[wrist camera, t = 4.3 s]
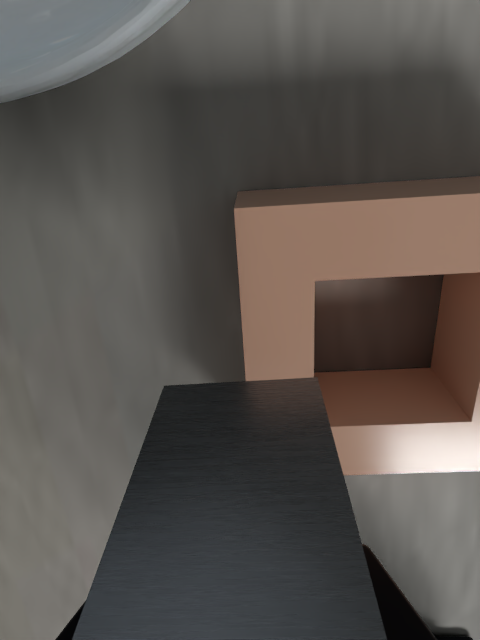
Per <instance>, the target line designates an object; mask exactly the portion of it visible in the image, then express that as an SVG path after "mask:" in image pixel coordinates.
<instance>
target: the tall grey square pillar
mask: <svg viewBox="0 0 480 640" xmlns="http://www.w3.org/2000/svg"><path fill="white" fill-rule="evenodd" d="M72 640H387V637H386V634H385V630H384V626H383V622H382V619H381V615H380V611H379V607H378V603H377V600H376V596H375V592H374V588H373V585H372V581H371V577H370V573H369V570H368V566H367V562H366V558H365V555H364V551H363V547H362V543H361V539H360V536H359V532H358V528H357V524H356V521H355V517H354V513H353V509H352V506H351V502H350V498H349V494H348V490H347V487H346V483H345V479H344V475H343V472H342V468H341V464H340V460H339V457H338V453H337V449H336V445H335V441H334V438H333V434H332V430H331V426H330V423H329V419H328V415H327V411H326V408H325V404H324V400H323V396H322V393H321V389H320V385H319V381H318V377H311V378H294V379H276V380H259V381H241V382H223V383H206V384H188V385H171V386H164V388H163V390H162V393H161V396H160V399H159V401H158V404H157V407H156V410H155V412H154V415H153V418H152V421H151V423H150V426H149V429H148V432H147V434H146V437H145V440H144V443H143V445H142V448H141V451H140V454H139V456H138V459H137V462H136V465H135V467H134V470H133V473H132V476H131V478H130V481H129V484H128V487H127V490H126V492H125V495H124V498H123V501H122V503H121V506H120V509H119V512H118V514H117V517H116V520H115V523H114V525H113V528H112V531H111V534H110V536H109V539H108V542H107V545H106V547H105V550H104V553H103V556H102V558H101V561H100V564H99V567H98V569H97V572H96V575H95V578H94V580H93V583H92V586H91V589H90V591H89V594H88V597H87V600H86V602H85V605H84V608H83V611H82V613H81V616H80V619H79V622H78V624H77V627H76V630H75V633H74V635H73V638H72Z"/></svg>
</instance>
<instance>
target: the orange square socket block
mask: <svg viewBox="0 0 480 640" xmlns="http://www.w3.org/2000/svg"><path fill="white" fill-rule="evenodd" d="M234 217H235V232H236V246H237V261H238V275H239V290H240V304H241V319H242V333H243V348H244V362H245V377H246V381H259V380H276V379H294V378H311V377H318V381H319V385H320V389H321V393H322V396H323V400H324V404H325V408H326V411H327V415H328V419H329V423H330V426H331V430H332V434H333V438H334V441H335V445H336V449H337V453H338V457H339V460H340V464H341V468H342V472H343V475H368V474H401V473H434V472H467V471H480V176H472V177H456V178H440V179H425V180H409V181H393V182H378V183H362V184H346V185H331V186H315V187H299V188H283V189H268V190H252V191H238V192H237V197H236V201H235V206H234ZM439 274H444V277H443V284H442V291H441V298H440V305H439V312H438V319H437V326H436V333H435V340H434V347H433V354H432V361H431V368H412V369H389V370H365V371H341V372H317V373H314V313H315V281H325V280H344V279H363V278H382V277H401V276H420V275H439Z"/></svg>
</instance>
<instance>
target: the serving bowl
mask: <svg viewBox="0 0 480 640" xmlns="http://www.w3.org/2000/svg"><path fill="white" fill-rule="evenodd" d="M189 1H190V0H0V103H5V102H9V101H13V100H16V99H20V98H24V97H27V96H31V95H35V94H38V93H42V92H45V91H48V90H51V89H53V88H56V87H59V86H62V85H65V84H67V83H70V82H72V81H75V80H77V79H79V78H82V77H84V76H86V75H88V74H90V73H92V72H94V71H96V70H98V69H100V68H101V67H103V66H105V65H107V64H109V63H111V62H113V61H114V60H116V59H118V58H120V57H122V56H123V55H124V54H126V53H127V52H129V51H130V50H132V49H133V48H135V47H136V46H138V45H139V44H140V43H142V42H143V41H145V40H146V39H147V38H149V37H150V36H151V35H152V34H153V33H155V32H156V31H157V30H158V29H159V28H161V27H162V26H163V25H164V24H165V23H167V22H168V21H169V20H170V19H171V18H173V17H174V16H175V15H176V14H177V13H178V12H179V11H180V10H181V9H182V8H183V7H184V6H185V5H186V4H187V3H188V2H189Z"/></svg>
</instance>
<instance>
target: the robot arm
mask: <svg viewBox="0 0 480 640" xmlns="http://www.w3.org/2000/svg"><path fill="white" fill-rule="evenodd" d="M362 547H363V551H364V555H365V558H366V562H367V566H368V570H369V573H370V577H371V581H372V585H373V588H374V592H375V596H376V600H377V603H378V607H379V611H380V615H381V619H382V622H383V626H384V630H385V634H386V637H387V640H473V639H472V638H471V637H435V636H434V635H433V634H432V632H431V631H430V630H429V628H428V627H427V625H426V624H425V623H424V621H423V620H422V619H421V617H420V616H419V615H418V613H417V612H416V611H415V609H414V608H413V607H412V605H411V604H410V602H409V601H408V600H407V598H406V597H405V596H404V594H403V593H402V592H401V590H400V589H399V588H398V586H397V585H396V583H395V582H394V581H393V579H392V578H391V577H390V575H389V574H388V573H387V571H386V570H385V569H384V567H383V566H382V565H381V563H380V562H379V560H378V559H377V558H376V556H375V555H374V554H373V552H372V551H371V550H370V548H369V547H368V546H366V545H364V544H362ZM85 602H86V601H85ZM85 602H84V604H83V605H82V606H81V607H80V609H79V610H78V611H77V613H76V614H75V615H74V616H73V618H72V619H71V620H70V622H69V623H68V624H67V625H66V627H65V628H64V629H63V631H62V632H61V633H60V634H59V636H58V637H57V638H56V640H72V638H73V635H74V633H75V630H76V627H77V624H78V622H79V619H80V616H81V613H82V611H83V608H84V605H85Z"/></svg>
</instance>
